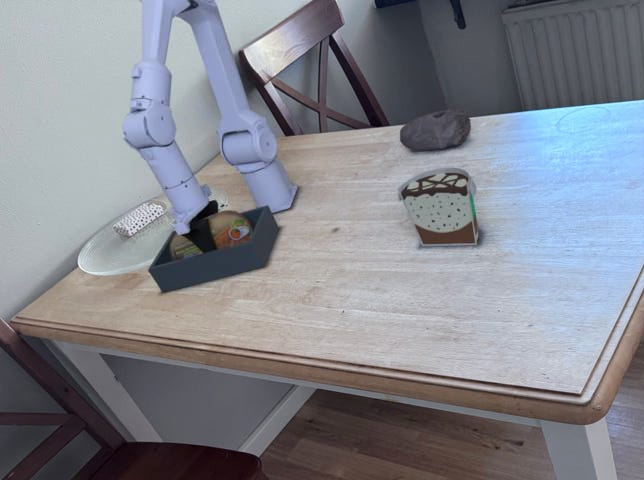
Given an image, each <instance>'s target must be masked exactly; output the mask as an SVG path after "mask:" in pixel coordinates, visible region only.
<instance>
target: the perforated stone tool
mask: <svg viewBox="0 0 644 480" xmlns="http://www.w3.org/2000/svg"><path fill="white" fill-rule="evenodd" d="M471 123H472V122H471V119H470V117H469V113H468V110H466V109H464V108H453V109H444V110H439V111H434V112H431V113H427V114H424V115H421V116H418V117H416V118H414V119H411V120H410V121H408V122H407V123H405V124H404V125H403V126H402V127H401V128H400V130H399V141H400V143H401V144H402V145H403V146H404V147H405V148H407V149H409V150H412V151H415V152H417V151H418V152H421V151H425V150H427V151H438V150H439V151H440V150H445V149H446V148H449V147H450V146H454V147H457V146H460V145H461V144H462V143H463V142H465V141H466V140H467V139H468V137H469V135H470V133H471V129H472V125H471Z"/></svg>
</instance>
